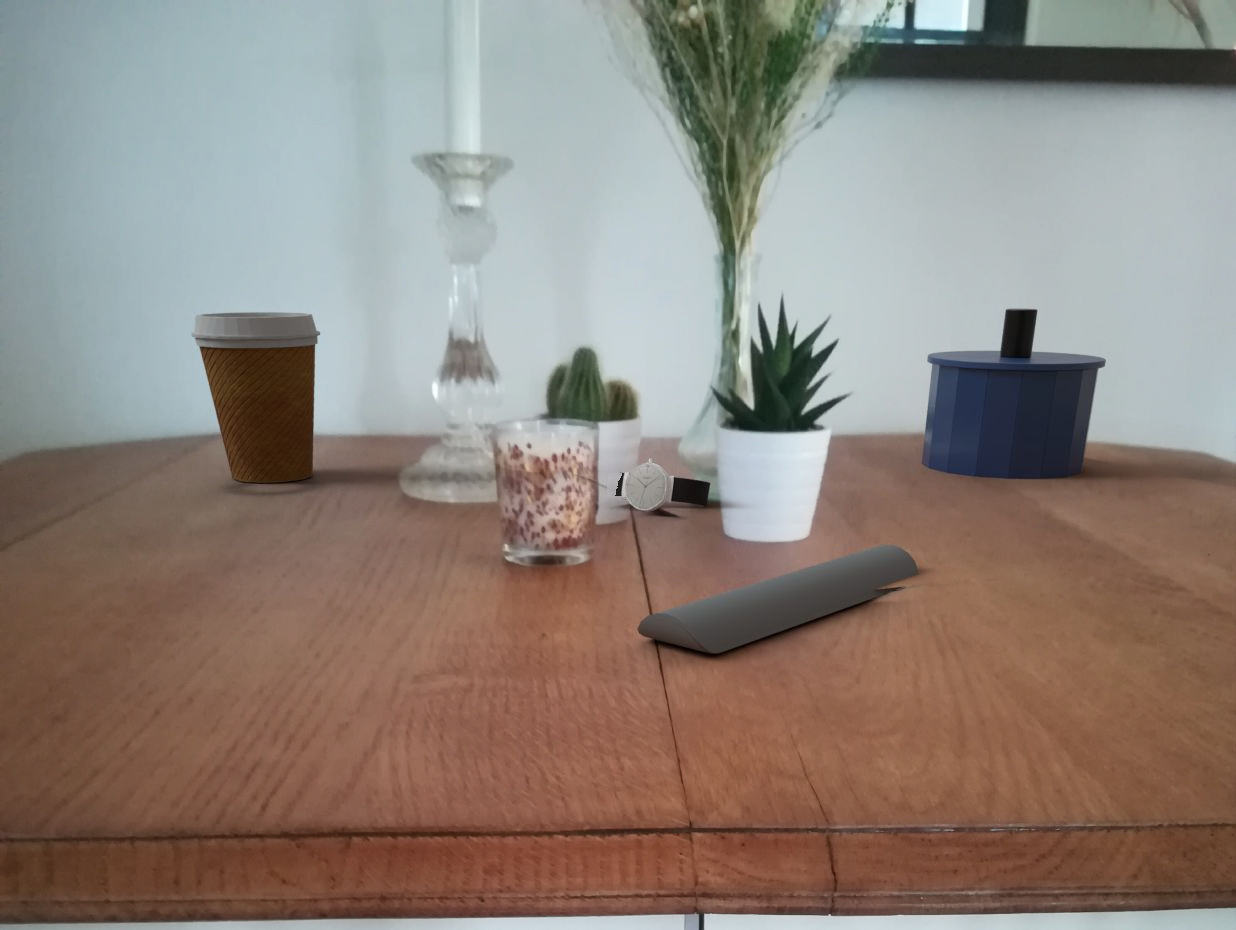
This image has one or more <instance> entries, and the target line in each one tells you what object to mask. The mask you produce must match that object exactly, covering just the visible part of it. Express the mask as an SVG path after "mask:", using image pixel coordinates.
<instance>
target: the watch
mask: <svg viewBox="0 0 1236 930" xmlns="http://www.w3.org/2000/svg"><path fill="white" fill-rule="evenodd" d="M621 473H622V476H621V478H620V480H619V481H618V486H617V487H618V488H617V489H616V495H615V496H622V498H627V501H628V503H629V504H630V505H631V506H632V507H633V508H634V509H636V510H638V511H639V512H640V511H641V512H647V513H648V512H654V511H656V510H658V509H660V507H662V506H663V505H664V504H665V503H668V504H671V502H675V503H682V504H683V503H684V504H691V505H692V504H693V505H698V506H704V507H707V505H708V501H709V495H710V494H709V493H710V489H711V482H709V481H705V480H700V479H693V478H685V477H675V476H674V475H669V474H668V473H667V471H666V470H665V469H664V468H663V467H662V466H661V465H659V464H657V463H654V458H648V462H647V461H646V462H644V463H640V464H637V465H635V466H634V467H633V468H632V469H631V470H630V471H628V472H627V471H624V472H621Z"/></svg>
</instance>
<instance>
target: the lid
mask: <svg viewBox="0 0 1236 930" xmlns="http://www.w3.org/2000/svg"><path fill="white" fill-rule="evenodd" d="M1037 317H1038V309H1036V308H1006V309H1005V312H1004V321H1003V327H1002V335H1001V344H1000V350H955V351H954V350H953V351H939V352H932V353H929V354H928V355H927V359H926V360H927V363H929V364H931V365H932V364H936V365H942V366H950V367H960V368H973V369H990V370H1017V371H1070V370H1089V369H1098V368H1099V369H1102V368H1104V367H1105V366H1106V363H1107V360H1106V359H1105V358H1104V357H1101V356H1096V355H1089V354H1079V353H1068V352H1052V351H1051V352H1049V351H1033V348H1034V347H1033V346H1034V340H1035V332H1036V325H1037V324H1036V323H1037ZM1099 369H1098V370H1099Z"/></svg>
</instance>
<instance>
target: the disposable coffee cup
mask: <svg viewBox="0 0 1236 930" xmlns="http://www.w3.org/2000/svg"><path fill="white" fill-rule="evenodd" d="M190 334H191V337H192V338H194V340H195V344H196V346H197V347H198V348H199V351H200V354H201V355H200V356H201V358H202V359H201V360H202V363H203V366H204V370H205V374H206V379H207V383H208V386H209V391H210V394H211V399H212V402H213V403H212V404H213V406H214V410H215V414H216V415H215V416H216V418H217V424H218V426H219V431H220V434H221V438H222V442H223V447H224V450H225V454H226V458H227V463H228V467H229V470H230V475H231V478H232V479H233V480H235V481H239V482H245V483H260V484H267V483H268V484H269V483H270V484H271V483H286V482H295V481H299V480H305V479H308V478H310V477H312V476H314V475H313V474H314V472H313V471H314V469H313V468H314V430H315V429H314V427H315V382H316V381H315V379H316V378H315V377H316V345H317V344H318V342H319V341H318V336H321V331H319V330H317V327H316V323H315V320H314V317H313V314H312V313H307V312H276V311H275V312H273V311H271V312H270V311H268V312H267V311H255V312H254V311H250V312H249V311H248V312H247V311H245V312H244V311H243V312H212V313H200V314H199V313H198V314H195V316H194V330H193V332H191V333H190Z"/></svg>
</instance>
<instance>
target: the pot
mask: <svg viewBox="0 0 1236 930" xmlns="http://www.w3.org/2000/svg"><path fill="white" fill-rule="evenodd" d="M1099 369H1100V368H1098V369H1089V370H1070V371H1017V370H990V369H973V368H960V367H950V366H942V365H936V364H931V372H930V380H929V381H930V383H929V390H928V391H929V392H928V400H927V401H928V402H927V410H926V420H925V428H924V429H925V430H924V437H923V446H922V447H923V448H922V457H921V464H922V465H923V466H925V467H926V468H928V469H930V470H934V471H938V472H942V473H946V474H951V475H952V474H953V475H959V476H960V475H961V476H966V477H974V478H975V477H976V478H988V479H1004V480H1006V479H1008V480H1044V479H1045V480H1046V479H1057V478H1058V479H1060V478H1068V477H1072V476H1076V475H1079V474H1081V473H1082V472H1083V468H1084V462H1085V456H1086V449H1087V444H1088V437H1089V430H1090V424H1091V417H1092V412H1093V406H1094V400H1095V394H1096V388H1097V383H1098V382H1097V381H1098V376H1099Z"/></svg>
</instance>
